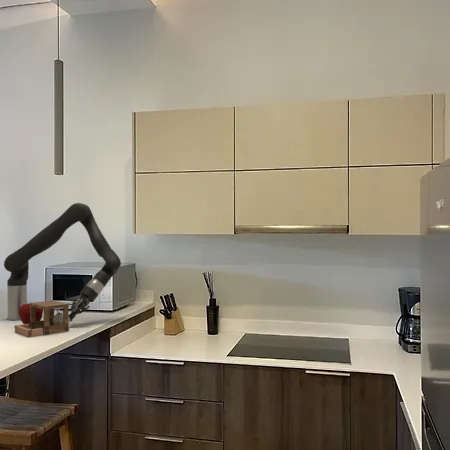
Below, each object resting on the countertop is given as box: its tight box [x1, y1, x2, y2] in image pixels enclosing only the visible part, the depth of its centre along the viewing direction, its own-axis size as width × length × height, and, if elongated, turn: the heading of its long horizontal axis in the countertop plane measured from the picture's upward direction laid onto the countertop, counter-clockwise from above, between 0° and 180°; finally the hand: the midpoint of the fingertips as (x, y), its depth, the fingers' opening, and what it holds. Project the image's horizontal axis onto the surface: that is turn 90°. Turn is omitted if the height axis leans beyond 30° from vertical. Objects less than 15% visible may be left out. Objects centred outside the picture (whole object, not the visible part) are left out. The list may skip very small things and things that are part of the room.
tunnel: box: [29, 299, 70, 336], centre depth 230 cm, size 16×11×12 cm
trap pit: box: [14, 323, 44, 338], centre depth 224 cm, size 15×6×3 cm, turn 44°
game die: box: [51, 310, 73, 325], centre depth 234 cm, size 9×8×10 cm
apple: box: [19, 302, 44, 328], centre depth 241 cm, size 11×11×12 cm
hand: (69, 319), depth 237 cm, fingers closed
